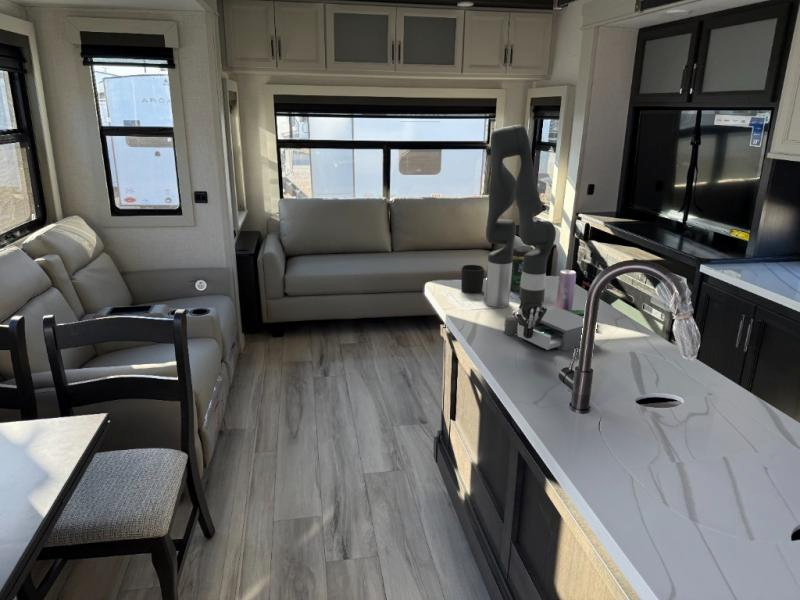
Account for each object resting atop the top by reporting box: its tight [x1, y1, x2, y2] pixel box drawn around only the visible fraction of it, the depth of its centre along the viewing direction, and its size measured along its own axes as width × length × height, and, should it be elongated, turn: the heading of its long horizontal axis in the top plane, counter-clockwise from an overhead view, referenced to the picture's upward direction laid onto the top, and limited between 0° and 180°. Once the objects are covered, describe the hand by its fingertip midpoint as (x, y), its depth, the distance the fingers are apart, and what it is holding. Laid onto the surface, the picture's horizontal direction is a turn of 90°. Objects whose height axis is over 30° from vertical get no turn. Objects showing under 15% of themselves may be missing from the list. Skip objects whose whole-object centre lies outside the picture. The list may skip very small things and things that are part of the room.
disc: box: [537, 329, 556, 340], centre depth 182 cm, size 6×6×2 cm
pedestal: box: [503, 316, 519, 336], centre depth 190 cm, size 4×4×5 cm
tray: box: [517, 324, 564, 351], centre depth 182 cm, size 13×13×4 cm
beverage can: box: [555, 269, 577, 310], centre depth 211 cm, size 6×6×15 cm
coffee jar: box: [510, 245, 534, 292], centre depth 234 cm, size 10×8×19 cm
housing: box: [535, 307, 584, 352], centre depth 185 cm, size 16×14×7 cm
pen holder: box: [460, 264, 485, 295], centre depth 232 cm, size 9×9×10 cm
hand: (527, 337), depth 178 cm, fingers closed
